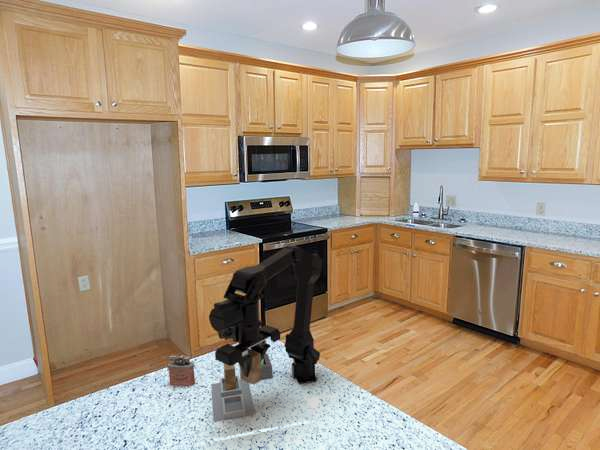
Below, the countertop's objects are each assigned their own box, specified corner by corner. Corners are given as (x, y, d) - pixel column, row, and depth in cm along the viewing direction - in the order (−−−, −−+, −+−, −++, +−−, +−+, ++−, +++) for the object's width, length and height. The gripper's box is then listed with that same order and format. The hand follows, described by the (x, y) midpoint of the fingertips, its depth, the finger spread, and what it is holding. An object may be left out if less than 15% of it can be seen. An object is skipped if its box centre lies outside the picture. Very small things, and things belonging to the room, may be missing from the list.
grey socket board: (247, 381, 122) (247, 373, 122) (255, 417, 105) (255, 409, 104) (211, 387, 119) (210, 379, 119) (213, 425, 102) (213, 416, 102)
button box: (268, 367, 130) (267, 353, 129) (272, 380, 122) (271, 365, 121) (243, 371, 128) (243, 357, 127) (246, 384, 120) (245, 369, 119)
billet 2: (248, 373, 107) (247, 348, 106) (261, 379, 104) (260, 353, 103) (240, 378, 105) (239, 352, 104) (253, 384, 102) (252, 357, 101)
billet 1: (234, 382, 119) (233, 360, 118) (236, 392, 115) (235, 368, 113) (224, 384, 119) (223, 361, 117) (226, 394, 114) (224, 370, 113)
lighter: (197, 383, 121) (195, 353, 120) (193, 390, 118) (190, 359, 116) (172, 382, 122) (169, 352, 121) (167, 389, 119) (164, 358, 117)
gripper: (252, 301, 114) (254, 351, 117) (199, 322, 100) (203, 379, 102) (280, 309, 107) (282, 362, 110) (228, 334, 93) (232, 394, 95)
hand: (250, 373), depth 105 cm, fingers closed on billet 2, 3 cm apart
